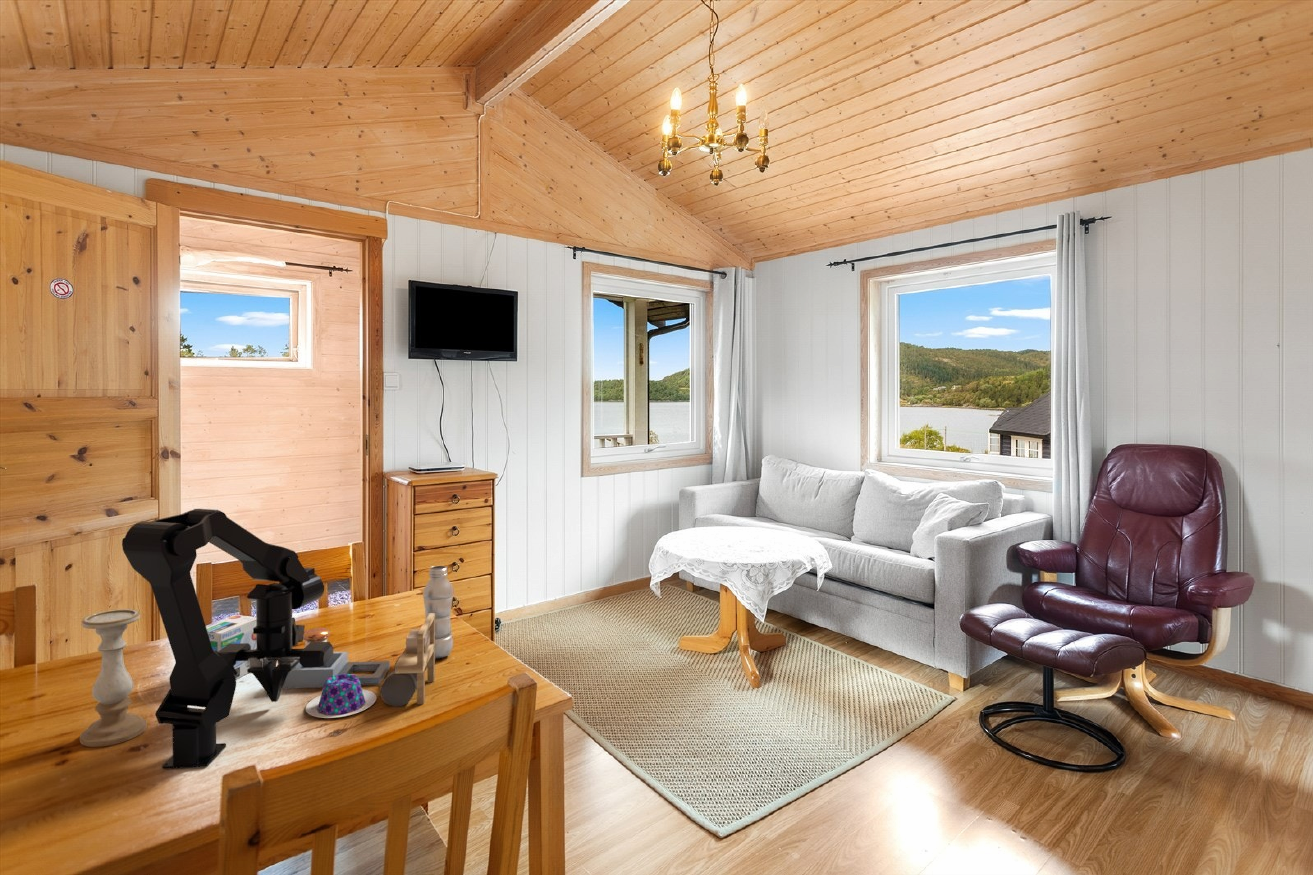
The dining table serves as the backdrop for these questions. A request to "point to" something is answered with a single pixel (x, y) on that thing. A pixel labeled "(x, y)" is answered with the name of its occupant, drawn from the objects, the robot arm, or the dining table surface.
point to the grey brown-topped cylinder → (316, 638)
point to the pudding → (341, 697)
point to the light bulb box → (233, 636)
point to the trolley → (412, 667)
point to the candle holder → (112, 682)
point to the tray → (315, 673)
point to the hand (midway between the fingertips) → (275, 700)
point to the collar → (377, 666)
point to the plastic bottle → (440, 608)
